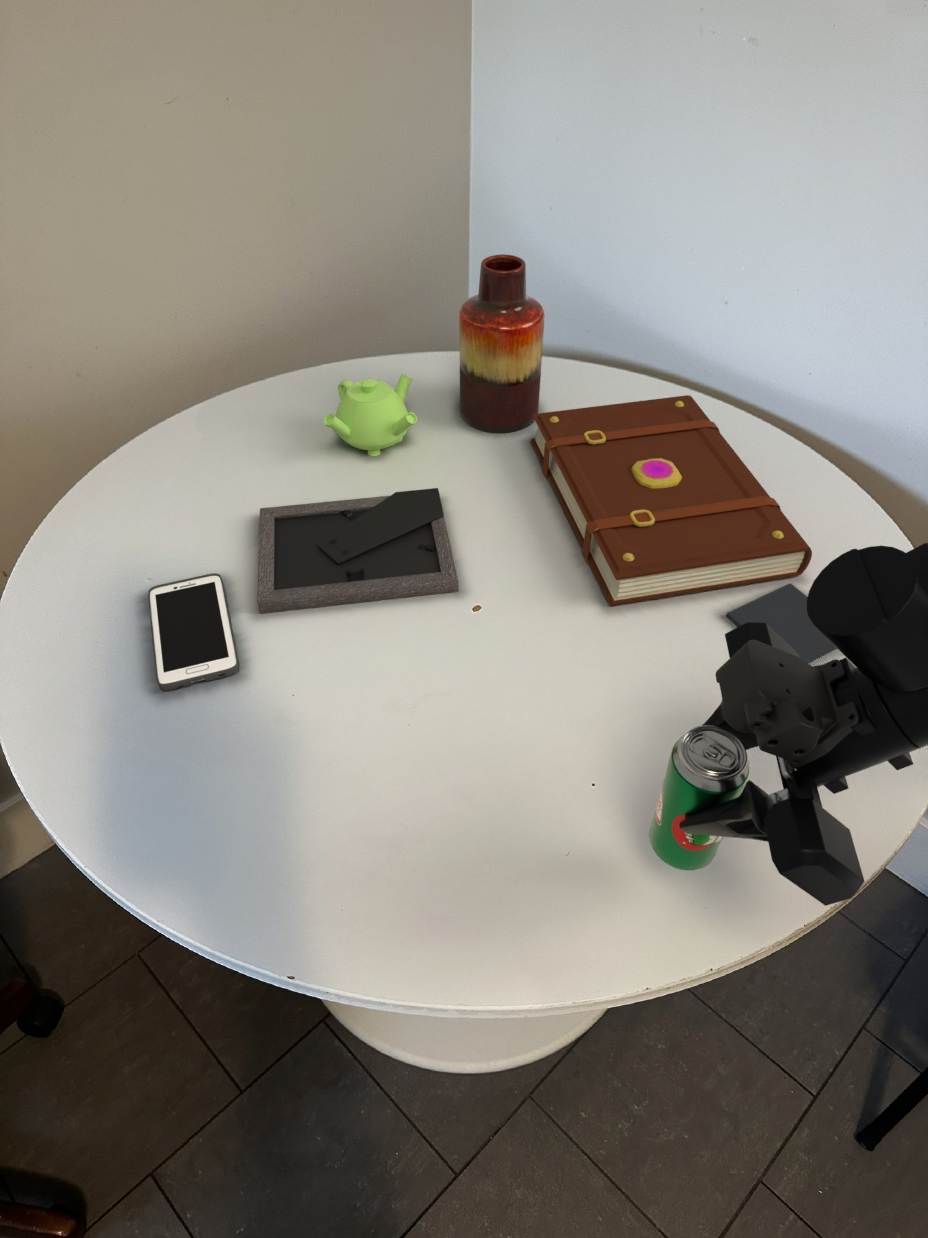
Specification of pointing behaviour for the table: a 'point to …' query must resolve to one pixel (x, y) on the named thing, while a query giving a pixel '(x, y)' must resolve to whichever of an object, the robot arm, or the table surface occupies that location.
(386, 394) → the teapot
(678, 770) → the soda can
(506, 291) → the vase
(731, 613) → the coaster mat
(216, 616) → the cell phone
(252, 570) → the table surface
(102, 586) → the table surface
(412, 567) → the picture frame
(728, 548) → the book
